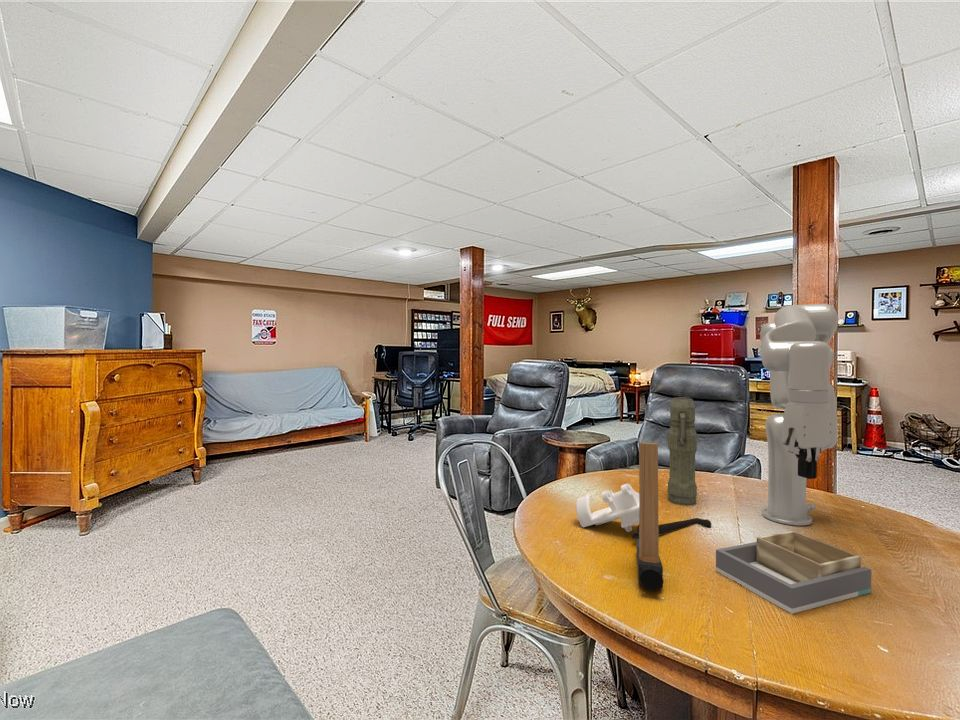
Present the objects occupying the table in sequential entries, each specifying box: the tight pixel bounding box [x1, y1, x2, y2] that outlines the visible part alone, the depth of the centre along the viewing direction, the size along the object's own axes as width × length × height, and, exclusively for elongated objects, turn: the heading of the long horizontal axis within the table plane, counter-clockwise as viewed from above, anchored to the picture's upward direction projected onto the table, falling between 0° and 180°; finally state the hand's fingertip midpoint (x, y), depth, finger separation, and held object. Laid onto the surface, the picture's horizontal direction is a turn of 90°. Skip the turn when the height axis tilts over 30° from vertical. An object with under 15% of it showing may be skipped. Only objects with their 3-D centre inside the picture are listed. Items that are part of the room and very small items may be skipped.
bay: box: [715, 541, 872, 615], centre depth 100 cm, size 23×18×5 cm
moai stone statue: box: [667, 396, 698, 506], centre depth 152 cm, size 9×12×35 cm
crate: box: [756, 530, 862, 582], centre depth 101 cm, size 12×15×6 cm
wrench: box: [630, 517, 712, 540], centre depth 124 cm, size 5×5×30 cm
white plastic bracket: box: [575, 483, 639, 533], centre depth 129 cm, size 20×11×13 cm, turn 54°
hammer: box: [635, 441, 664, 592], centre depth 105 cm, size 20×5×30 cm, turn 162°
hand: (807, 477), depth 103 cm, fingers closed
